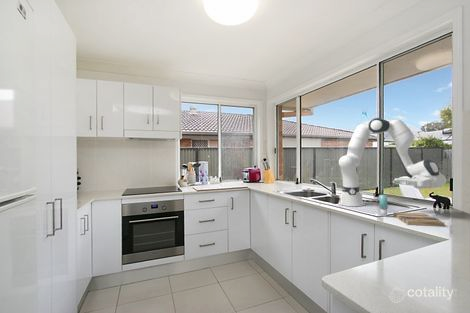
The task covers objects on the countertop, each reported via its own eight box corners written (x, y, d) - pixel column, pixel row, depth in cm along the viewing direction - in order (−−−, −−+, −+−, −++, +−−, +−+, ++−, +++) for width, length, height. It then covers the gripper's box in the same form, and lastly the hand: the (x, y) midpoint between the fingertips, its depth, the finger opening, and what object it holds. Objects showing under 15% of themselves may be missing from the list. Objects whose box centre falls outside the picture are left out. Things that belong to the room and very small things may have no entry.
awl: (379, 215, 140) (378, 194, 140) (386, 215, 138) (385, 194, 139) (381, 217, 136) (380, 195, 136) (388, 217, 135) (388, 195, 135)
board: (393, 215, 138) (393, 211, 138) (424, 216, 133) (424, 213, 133) (407, 224, 119) (407, 220, 119) (444, 226, 114) (444, 222, 114)
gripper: (404, 175, 151) (386, 176, 149) (435, 177, 131) (414, 178, 129) (405, 184, 151) (387, 186, 149) (436, 188, 131) (415, 189, 129)
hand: (400, 182), depth 139 cm, fingers open, 8 cm apart
